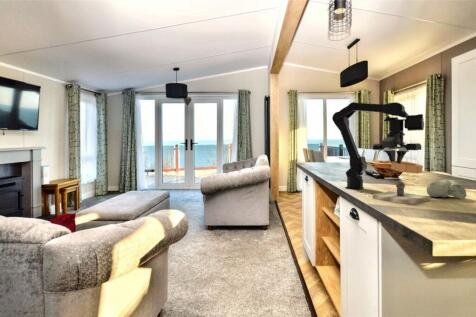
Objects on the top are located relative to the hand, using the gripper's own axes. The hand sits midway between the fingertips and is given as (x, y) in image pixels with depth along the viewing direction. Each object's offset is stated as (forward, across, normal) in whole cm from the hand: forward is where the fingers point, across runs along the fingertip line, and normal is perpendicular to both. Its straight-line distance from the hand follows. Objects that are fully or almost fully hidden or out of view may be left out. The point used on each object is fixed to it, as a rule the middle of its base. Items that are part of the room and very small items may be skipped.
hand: (395, 165), depth 126 cm
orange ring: (+2, +4, 0) cm, 5 cm away
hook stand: (+12, +8, -14) cm, 20 cm away
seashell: (+12, +18, +3) cm, 22 cm away
